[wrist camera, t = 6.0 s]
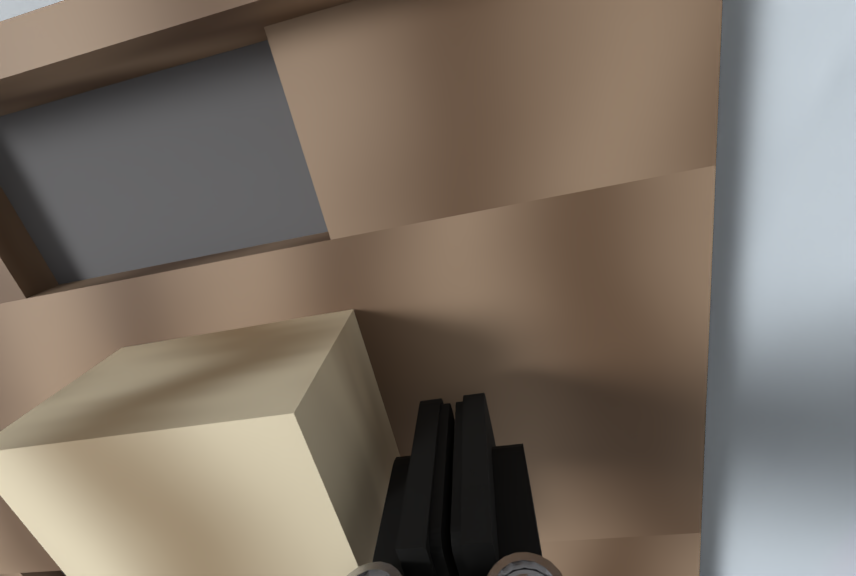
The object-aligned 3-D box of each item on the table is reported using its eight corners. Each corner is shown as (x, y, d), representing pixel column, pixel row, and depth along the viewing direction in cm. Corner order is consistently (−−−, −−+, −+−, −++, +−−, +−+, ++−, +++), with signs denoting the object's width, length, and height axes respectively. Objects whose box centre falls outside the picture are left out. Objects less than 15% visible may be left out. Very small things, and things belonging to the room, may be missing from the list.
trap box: (692, -132, 8) (796, -244, 5) (680, 600, 16) (720, 691, 13) (-366, 191, 13) (-567, 210, 10) (31, 622, 21) (-28, 692, 18)
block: (353, 309, 11) (293, 412, 7) (415, 503, 13) (395, 654, 10) (121, 348, 12) (-33, 454, 8) (219, 520, 14) (135, 659, 11)
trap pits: (287, 36, 9) (284, 34, 9) (454, 595, 17) (454, 600, 17) (-242, 187, 12) (-253, 188, 12) (99, 609, 20) (96, 614, 19)
